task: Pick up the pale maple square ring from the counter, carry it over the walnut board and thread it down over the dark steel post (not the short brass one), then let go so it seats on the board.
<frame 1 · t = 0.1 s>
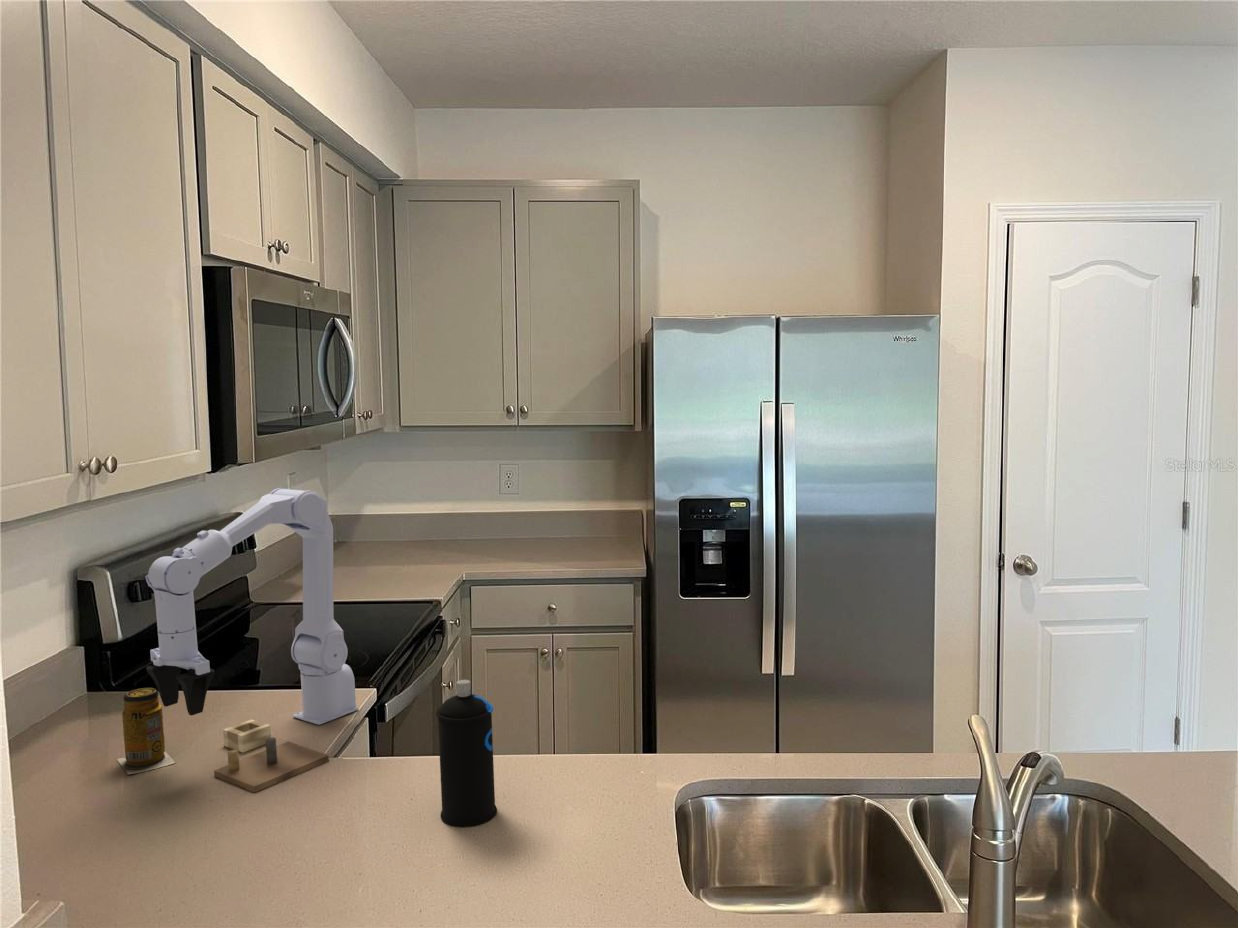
hand: (183, 708, 156), 10 cm above the worktop, fingers open, 7 cm apart
condiment: (146, 763, 159), on the worktop
ring: (247, 743, 166), on the worktop
post board: (272, 768, 155), on the worktop
aerosol can: (469, 815, 138), on the worktop
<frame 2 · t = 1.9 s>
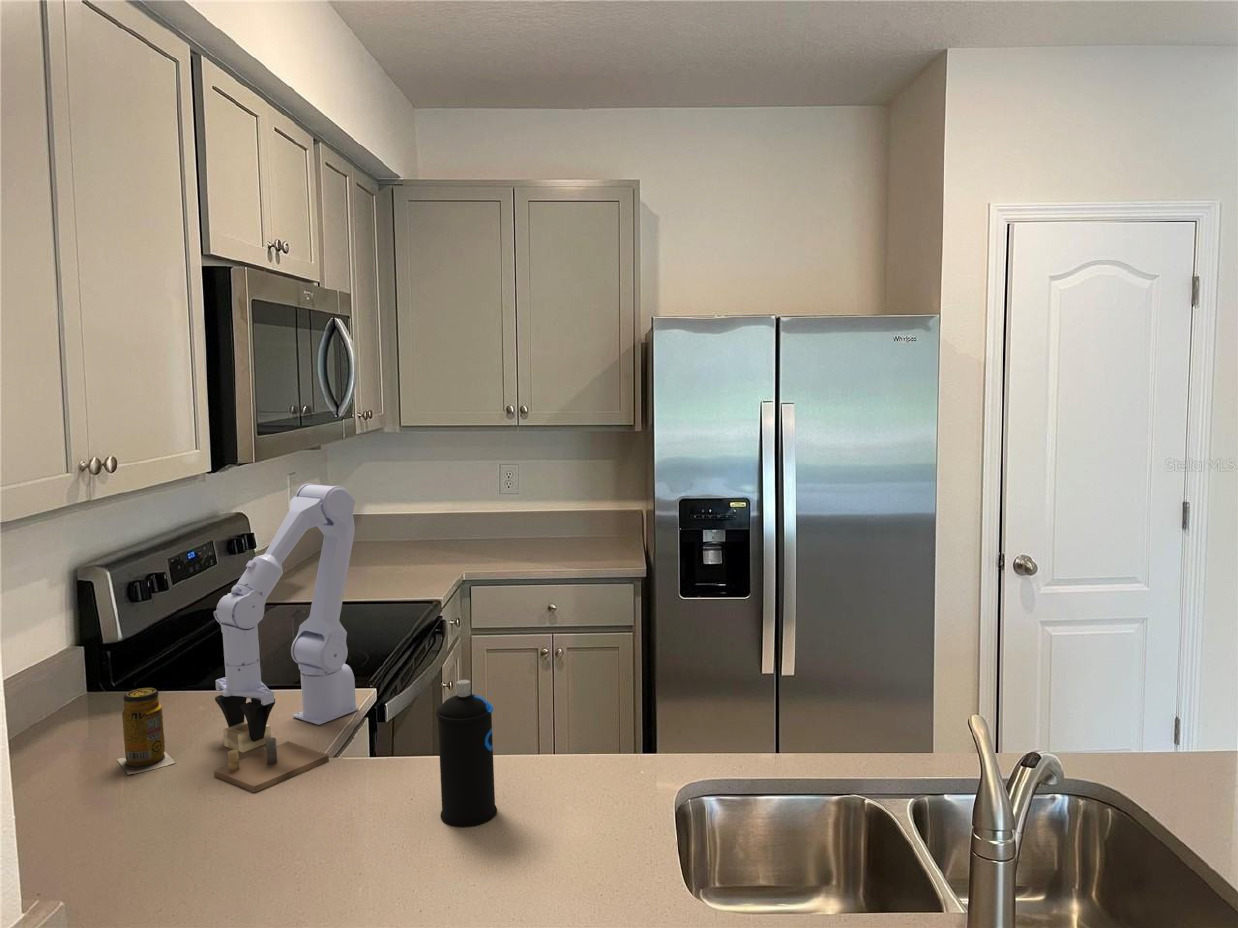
hand: (247, 735, 166), 1 cm above the worktop, fingers closed on ring, 6 cm apart
ring: (247, 743, 166), on the worktop, touching gripper
everything else where it was.
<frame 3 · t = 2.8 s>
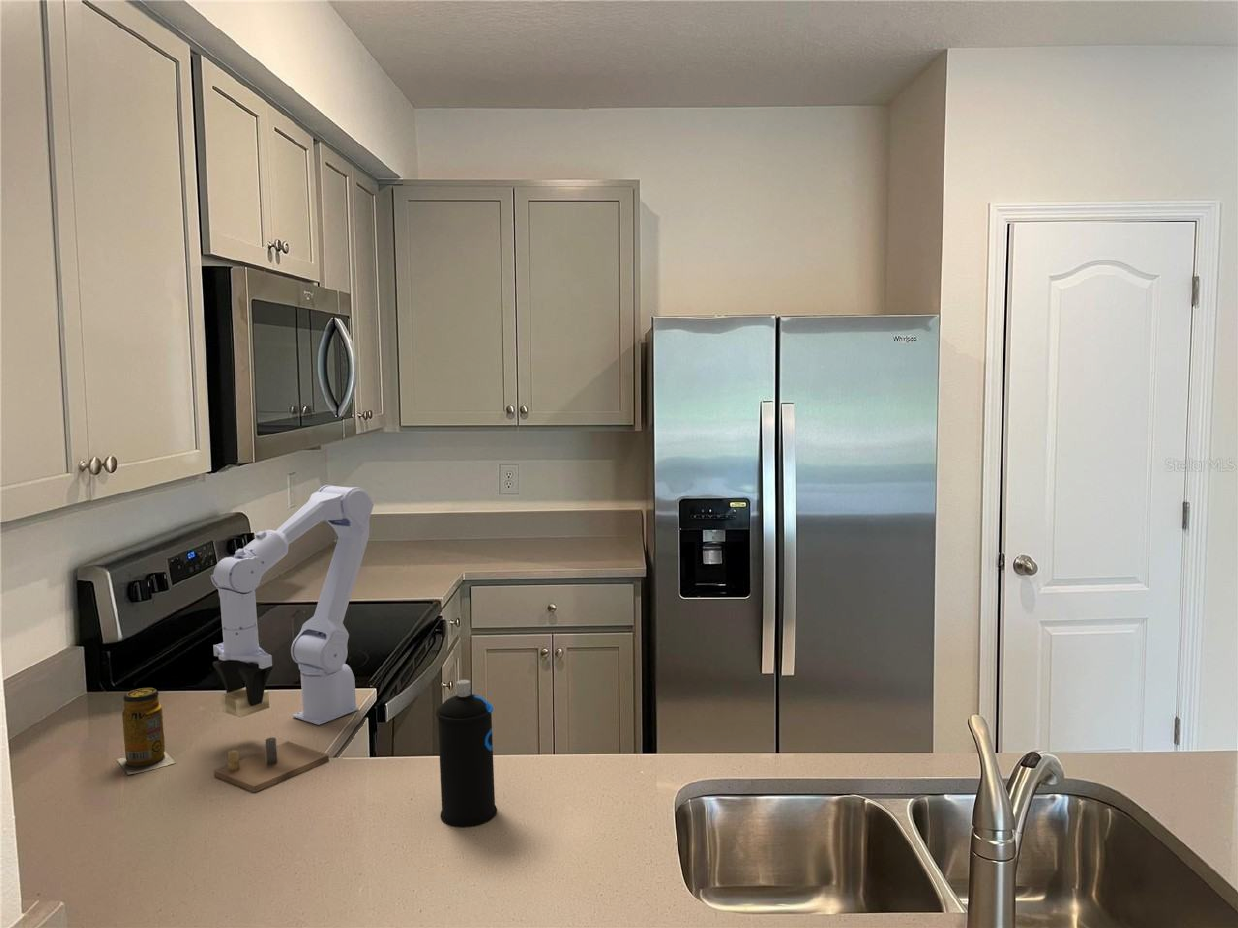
hand: (245, 700, 165), 8 cm above the worktop, fingers closed on ring, 6 cm apart
ring: (245, 709, 165), point 6 cm above the worktop, touching gripper
everything else where it was.
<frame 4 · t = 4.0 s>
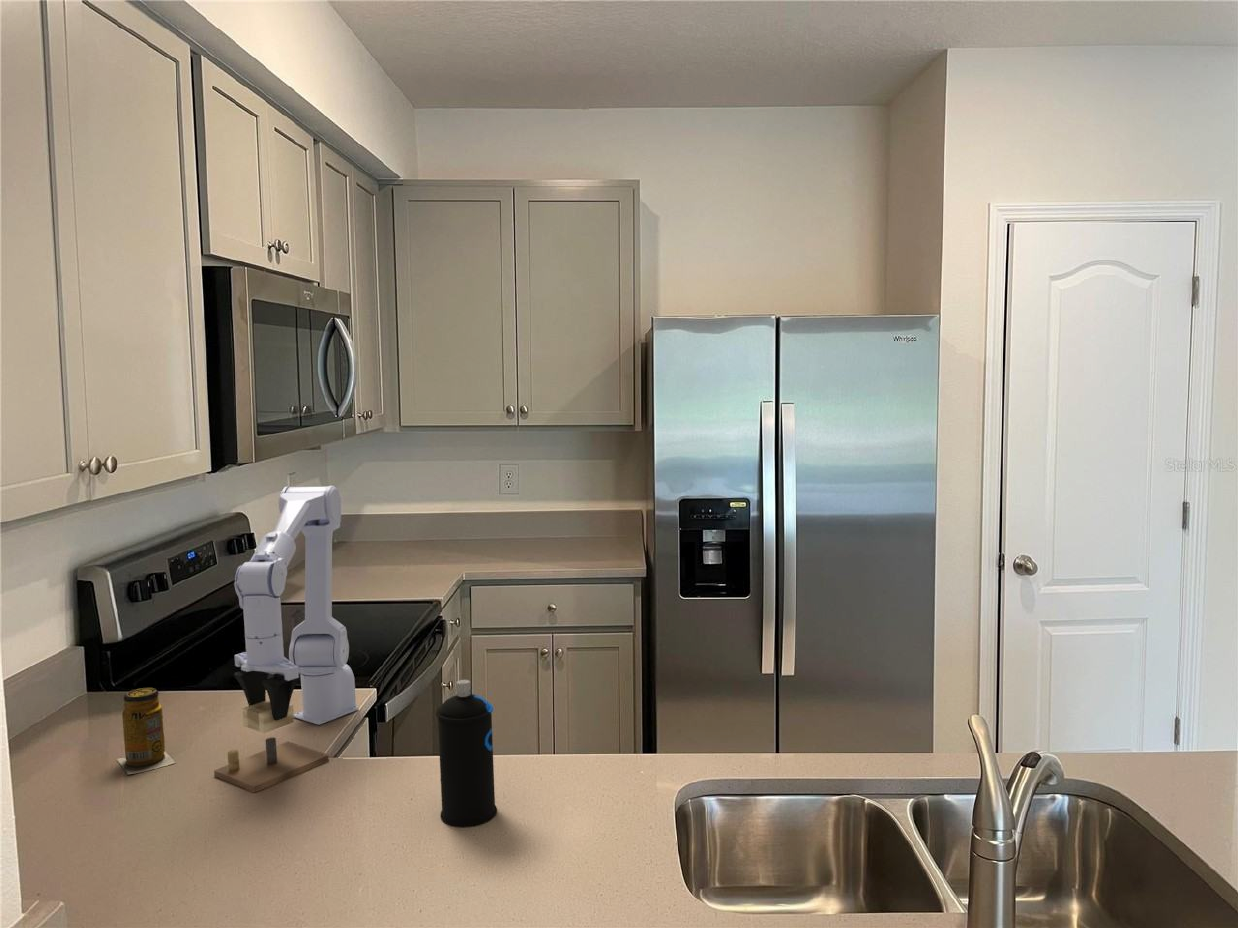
hand: (269, 714, 154), 9 cm above the worktop, fingers closed on ring, 6 cm apart
ring: (268, 723, 154), point 8 cm above the worktop, touching gripper
everything else where it was.
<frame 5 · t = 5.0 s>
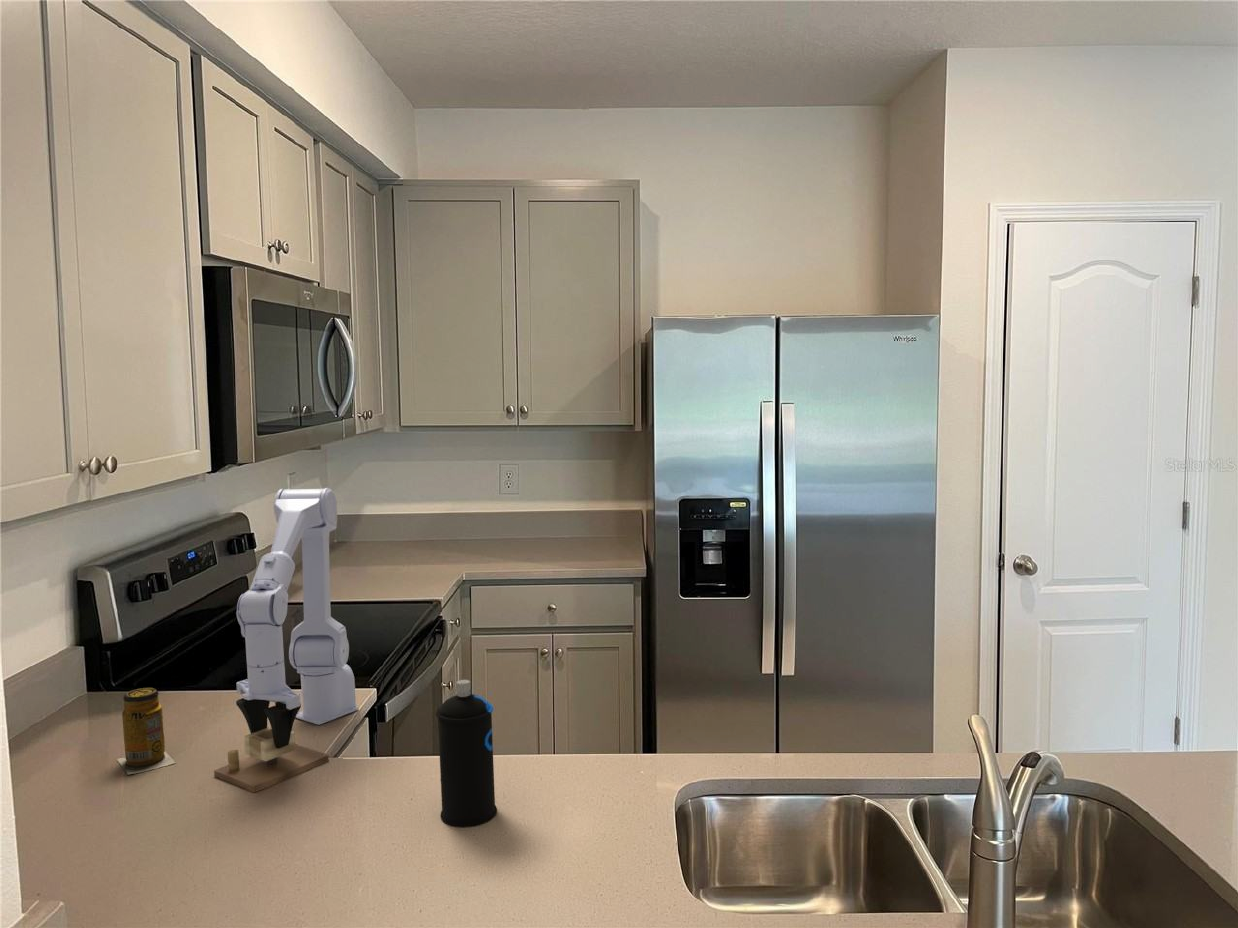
hand: (270, 742, 155), 4 cm above the worktop, fingers closed on ring, 6 cm apart
ring: (270, 751, 155), point 3 cm above the worktop, touching gripper
everything else where it was.
when the fingers open (4 cm above the worktop, at t = 6.0 s): ring drops 2 cm, resting on post board.
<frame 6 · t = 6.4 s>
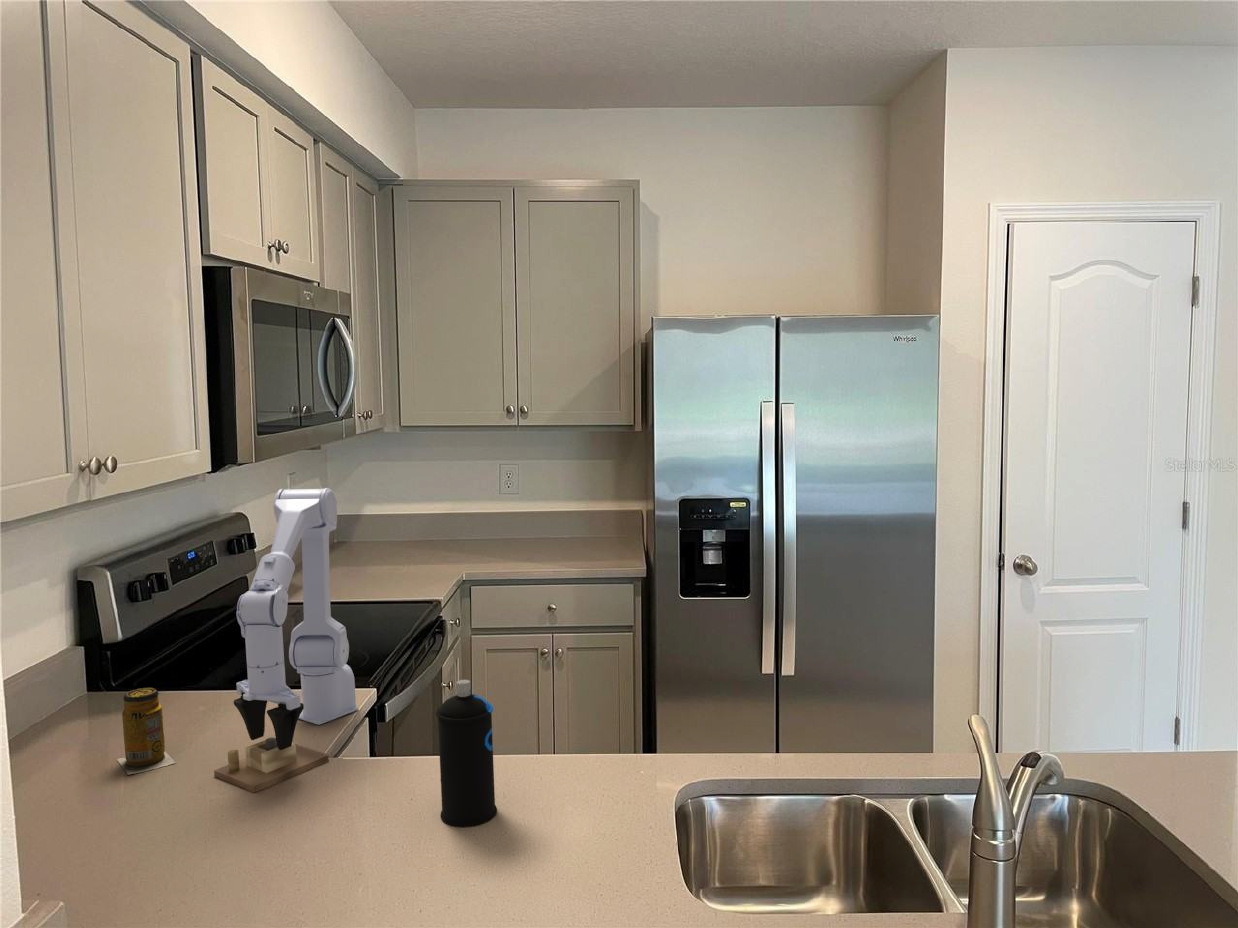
hand: (270, 742, 155), 4 cm above the worktop, fingers open, 7 cm apart
ring: (271, 762, 155), point 1 cm above the worktop, touching post board
everything else where it was.
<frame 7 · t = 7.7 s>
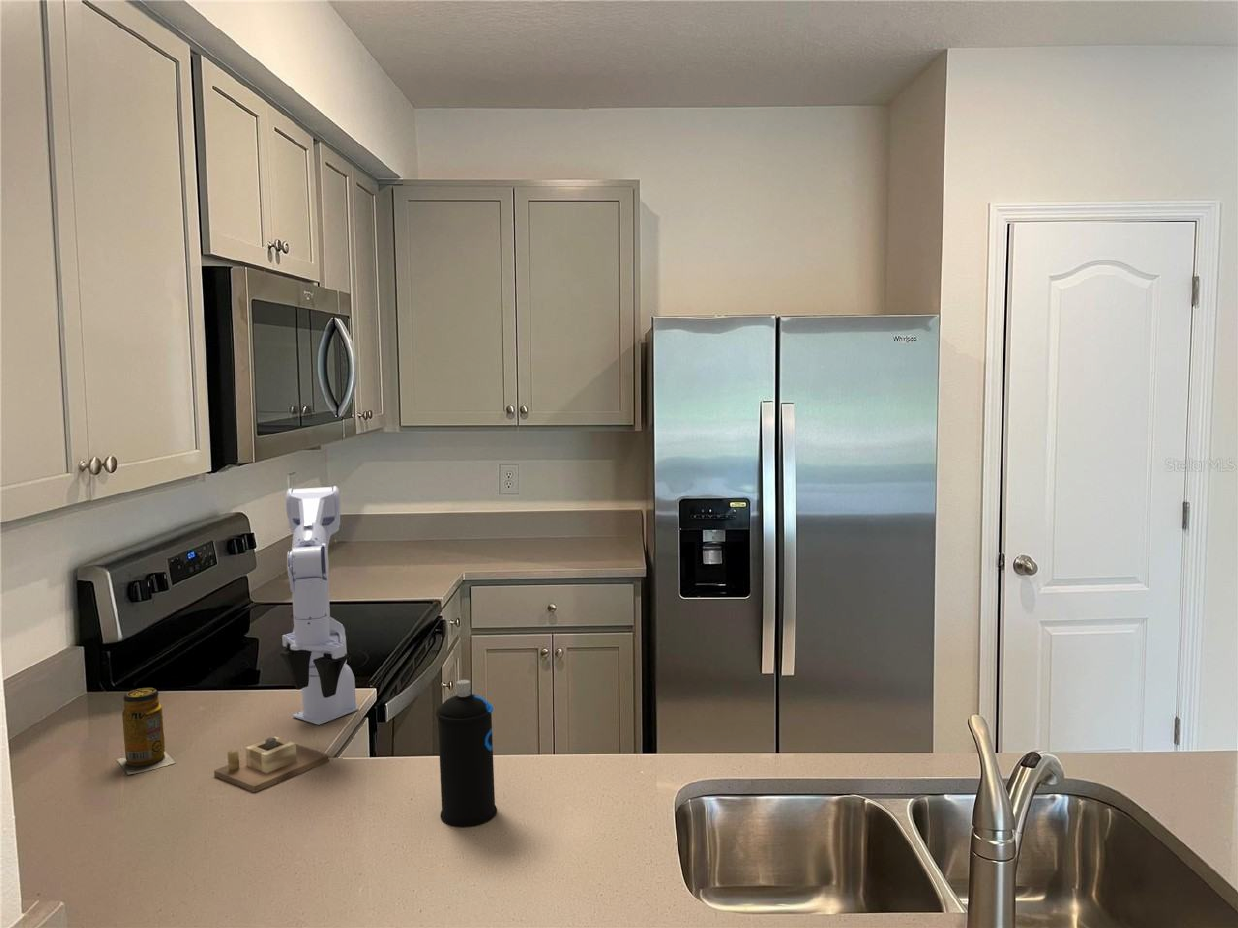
hand: (315, 691, 163), 10 cm above the worktop, fingers open, 7 cm apart
nothing on the worktop moved.
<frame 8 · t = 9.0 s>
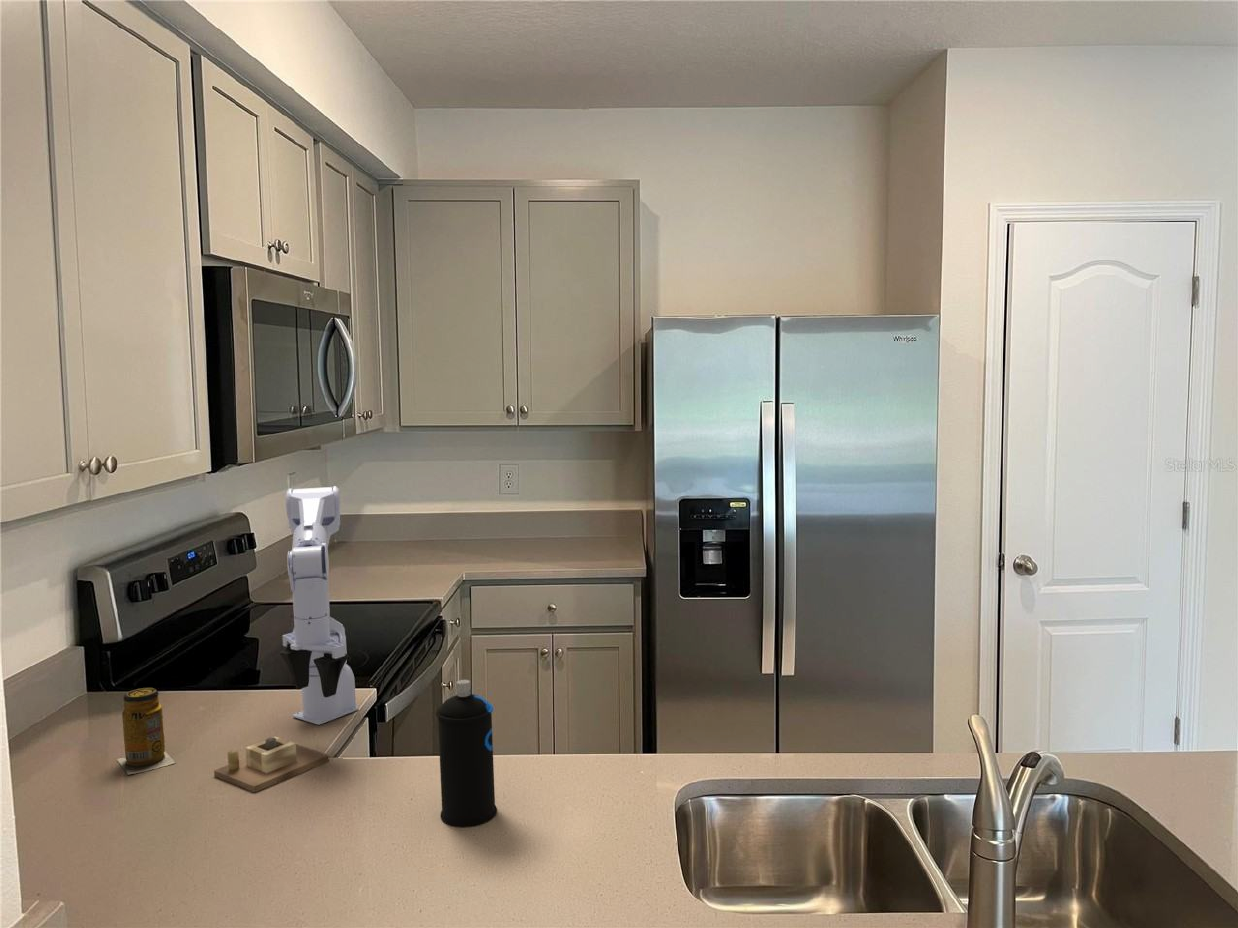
hand: (315, 691, 163), 10 cm above the worktop, fingers open, 7 cm apart
nothing on the worktop moved.
at the end: ring 0.1 cm off-centre on the post board, point 1.0 cm above the post board's base; ring tilted 0°; the gripper is holding nothing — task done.
